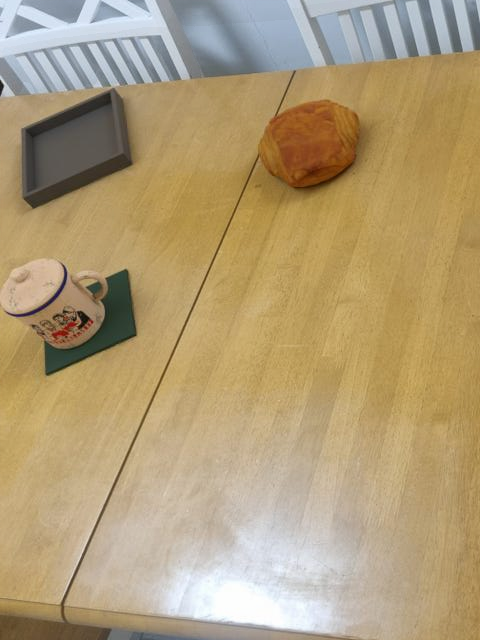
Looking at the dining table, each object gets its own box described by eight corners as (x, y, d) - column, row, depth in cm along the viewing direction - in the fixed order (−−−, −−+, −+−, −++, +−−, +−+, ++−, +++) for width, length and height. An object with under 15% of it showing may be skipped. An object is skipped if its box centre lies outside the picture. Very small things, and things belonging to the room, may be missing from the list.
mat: (47, 375, 98) (45, 374, 98) (44, 307, 106) (42, 306, 105) (136, 335, 99) (134, 333, 98) (127, 270, 106) (126, 268, 106)
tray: (32, 208, 119) (22, 198, 117) (30, 139, 130) (21, 128, 128) (132, 164, 119) (123, 152, 117) (122, 98, 130) (113, 87, 128)
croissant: (275, 151, 116) (245, 112, 110) (362, 110, 113) (336, 68, 107) (277, 212, 108) (244, 175, 102) (371, 170, 105) (343, 129, 99)
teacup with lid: (50, 362, 99) (-17, 313, 89) (45, 316, 104) (-19, 264, 94) (131, 322, 100) (73, 269, 90) (122, 278, 105) (67, 223, 95)
